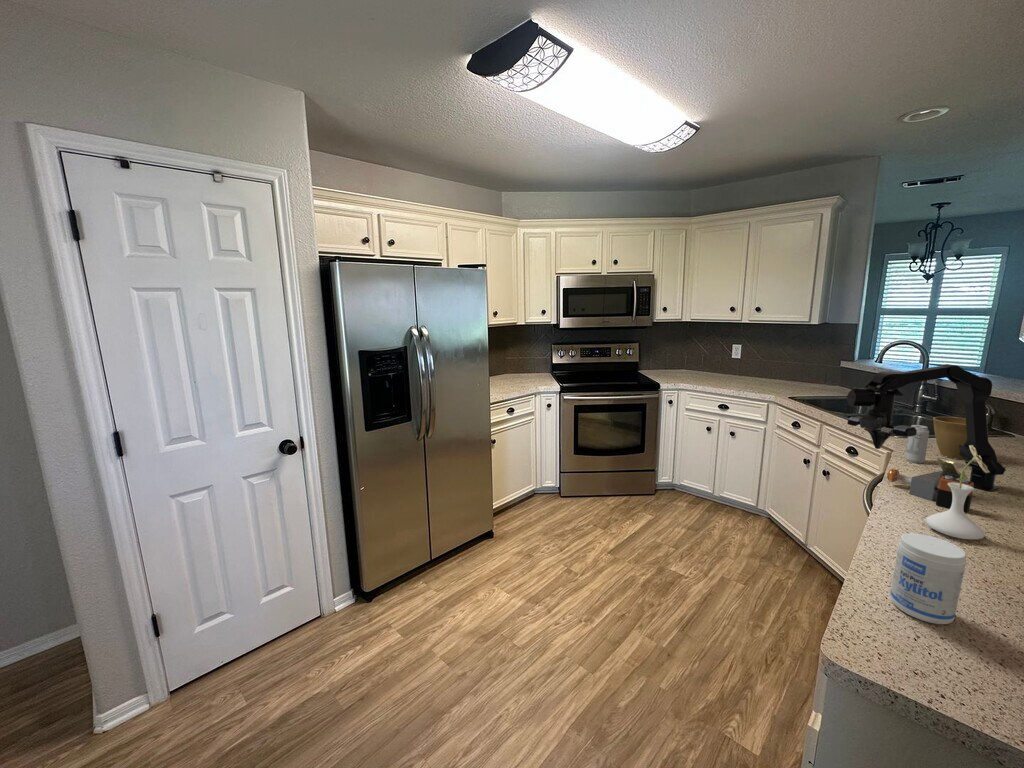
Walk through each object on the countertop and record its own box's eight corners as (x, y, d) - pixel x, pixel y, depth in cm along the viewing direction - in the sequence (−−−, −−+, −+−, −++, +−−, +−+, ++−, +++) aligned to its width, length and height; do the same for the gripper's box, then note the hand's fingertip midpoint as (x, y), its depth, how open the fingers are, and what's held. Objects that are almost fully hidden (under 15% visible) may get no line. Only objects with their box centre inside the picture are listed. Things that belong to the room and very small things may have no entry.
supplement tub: (890, 612, 85) (900, 546, 82) (888, 588, 92) (897, 527, 89) (959, 634, 78) (971, 564, 76) (951, 607, 86) (962, 542, 83)
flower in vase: (974, 548, 107) (991, 456, 103) (916, 528, 117) (930, 444, 113) (992, 535, 113) (1009, 448, 109) (936, 518, 123) (949, 437, 119)
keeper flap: (943, 472, 143) (944, 469, 143) (960, 476, 139) (961, 474, 139) (936, 460, 141) (937, 457, 141) (953, 464, 137) (955, 461, 137)
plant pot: (970, 454, 178) (976, 418, 175) (985, 465, 165) (992, 426, 163) (923, 449, 186) (928, 414, 183) (933, 458, 173) (939, 421, 171)
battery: (966, 513, 126) (971, 482, 124) (935, 505, 131) (939, 475, 130) (969, 509, 128) (974, 479, 126) (938, 502, 133) (943, 472, 132)
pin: (894, 479, 148) (896, 468, 147) (946, 495, 135) (948, 482, 134) (886, 481, 147) (888, 469, 146) (938, 497, 133) (940, 484, 133)
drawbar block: (938, 487, 145) (940, 470, 144) (961, 493, 139) (963, 476, 138) (909, 493, 140) (911, 477, 139) (931, 501, 134) (934, 483, 133)
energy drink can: (928, 463, 167) (934, 428, 165) (913, 463, 167) (919, 428, 165) (914, 458, 173) (919, 424, 171) (900, 458, 173) (905, 424, 171)
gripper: (839, 403, 154) (835, 444, 157) (899, 414, 137) (893, 459, 139) (859, 401, 158) (854, 440, 160) (920, 411, 140) (914, 455, 143)
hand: (877, 448), depth 151 cm, fingers closed
